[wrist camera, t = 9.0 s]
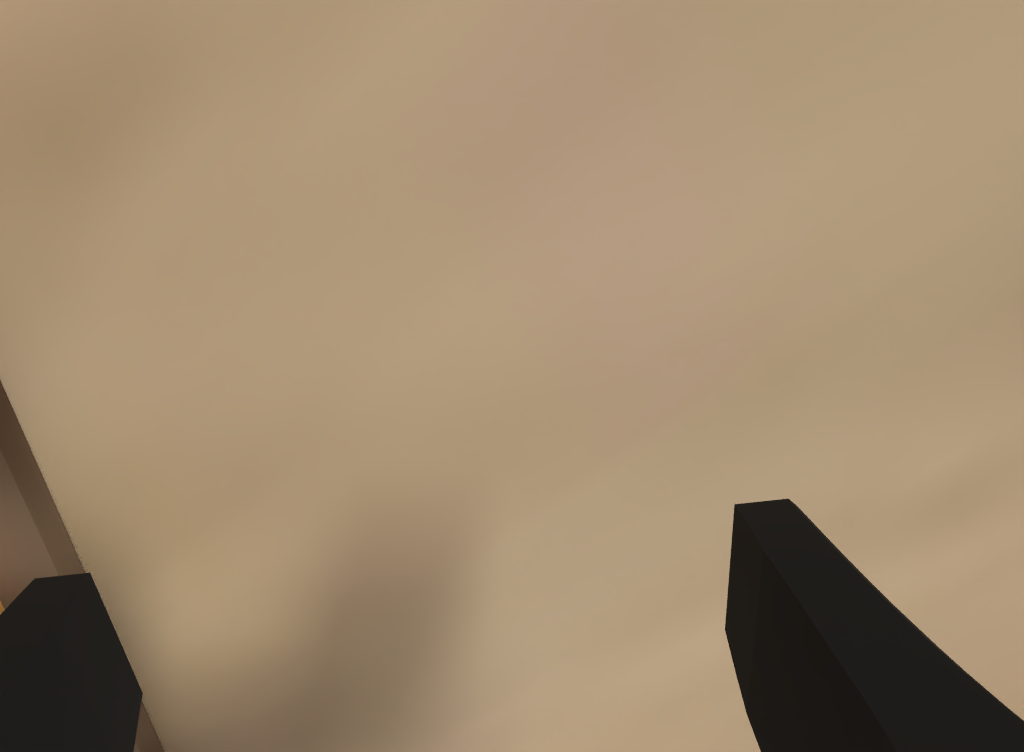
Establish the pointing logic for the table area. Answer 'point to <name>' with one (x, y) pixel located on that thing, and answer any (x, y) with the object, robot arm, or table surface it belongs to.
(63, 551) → the walnut board
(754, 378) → the table surface
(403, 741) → the table surface
